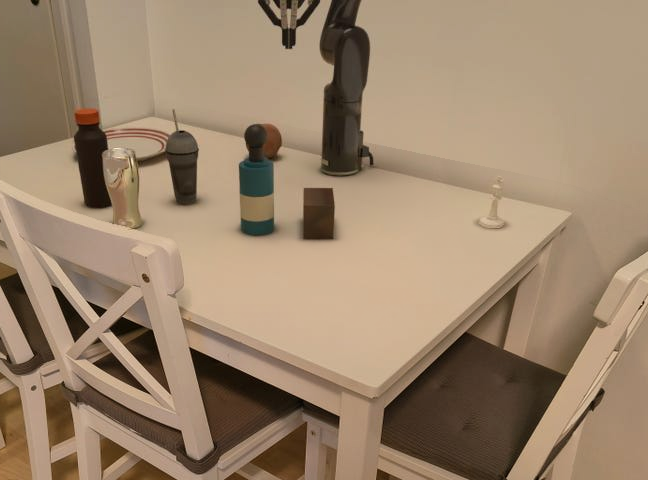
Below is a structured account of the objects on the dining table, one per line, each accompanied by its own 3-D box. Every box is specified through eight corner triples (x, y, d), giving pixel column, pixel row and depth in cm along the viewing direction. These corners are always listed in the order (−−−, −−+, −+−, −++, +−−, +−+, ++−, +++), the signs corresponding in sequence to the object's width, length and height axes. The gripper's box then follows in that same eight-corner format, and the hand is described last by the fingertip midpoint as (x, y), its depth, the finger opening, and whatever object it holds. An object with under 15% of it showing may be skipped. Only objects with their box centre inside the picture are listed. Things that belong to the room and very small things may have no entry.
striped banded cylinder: (253, 250, 140) (189, 180, 133) (256, 237, 146) (196, 169, 139) (317, 201, 133) (254, 124, 126) (319, 189, 139) (258, 115, 132)
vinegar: (120, 204, 153) (107, 112, 142) (90, 210, 150) (75, 116, 139) (109, 195, 158) (96, 105, 147) (80, 201, 155) (65, 109, 144)
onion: (252, 171, 181) (234, 139, 175) (260, 152, 187) (243, 120, 181) (284, 161, 177) (267, 128, 170) (291, 142, 183) (275, 109, 176)
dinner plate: (169, 169, 174) (167, 156, 172) (61, 169, 174) (59, 156, 172) (182, 138, 196) (181, 126, 195) (87, 139, 197) (85, 127, 195)
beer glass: (112, 218, 146) (102, 147, 138) (145, 217, 147) (137, 146, 138) (109, 231, 140) (98, 158, 132) (143, 230, 141) (134, 157, 133)
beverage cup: (196, 208, 151) (190, 114, 140) (165, 206, 152) (156, 112, 141) (206, 196, 157) (200, 106, 146) (175, 194, 158) (167, 104, 147)
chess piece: (490, 230, 139) (499, 182, 134) (474, 222, 143) (481, 175, 138) (508, 225, 141) (518, 178, 136) (492, 217, 145) (500, 171, 139)
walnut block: (303, 238, 136) (303, 205, 133) (302, 219, 145) (303, 187, 141) (333, 239, 136) (334, 205, 132) (331, 220, 145) (332, 187, 141)
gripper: (323, -51, 134) (320, 45, 144) (255, -51, 135) (257, 45, 144) (324, -49, 128) (321, 51, 137) (253, -49, 128) (255, 51, 138)
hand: (288, 48), depth 141 cm, fingers closed
